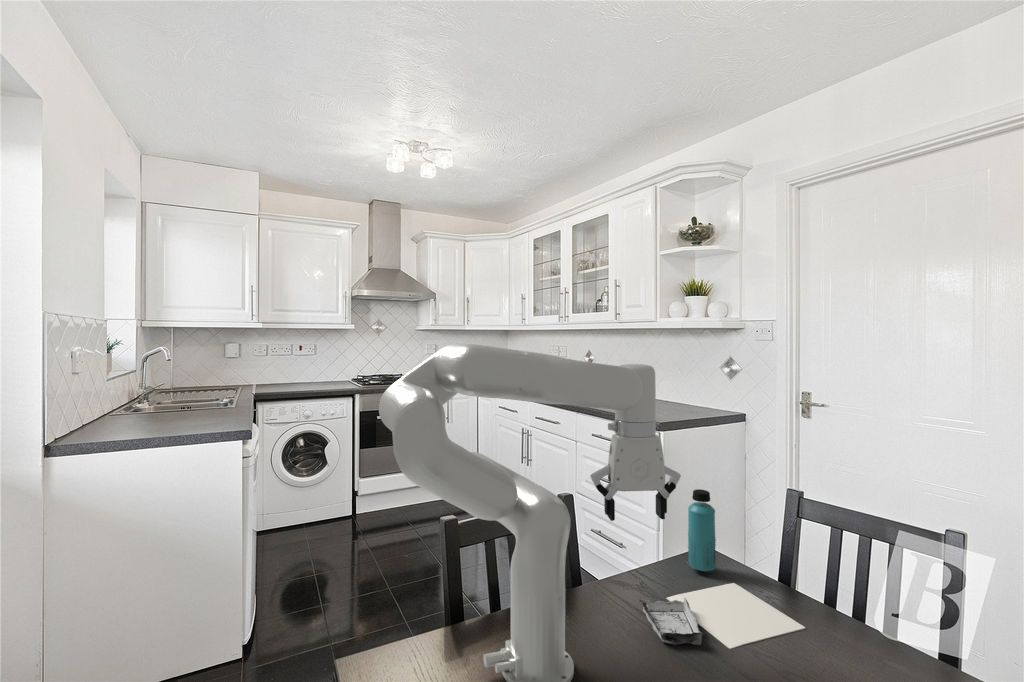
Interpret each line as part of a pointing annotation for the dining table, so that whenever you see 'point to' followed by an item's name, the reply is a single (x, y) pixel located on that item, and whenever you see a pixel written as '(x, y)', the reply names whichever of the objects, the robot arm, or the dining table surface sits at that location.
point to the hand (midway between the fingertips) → (635, 517)
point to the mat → (736, 615)
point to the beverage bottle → (701, 532)
